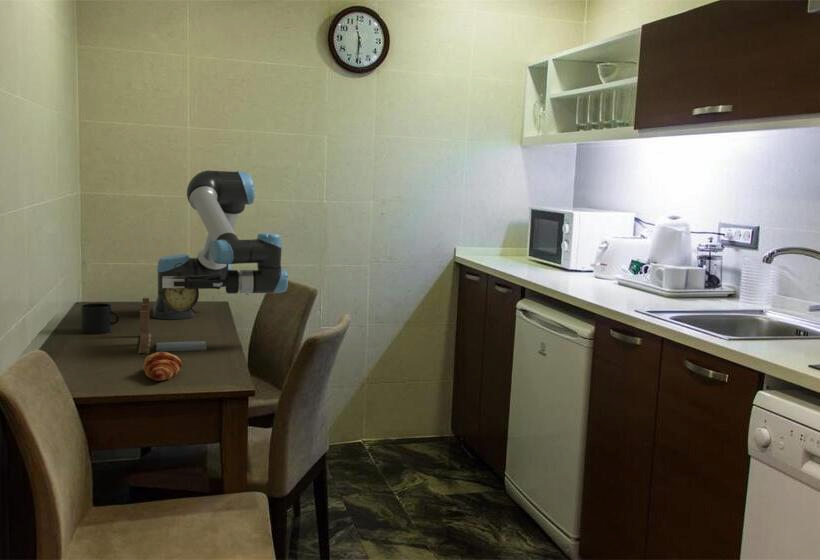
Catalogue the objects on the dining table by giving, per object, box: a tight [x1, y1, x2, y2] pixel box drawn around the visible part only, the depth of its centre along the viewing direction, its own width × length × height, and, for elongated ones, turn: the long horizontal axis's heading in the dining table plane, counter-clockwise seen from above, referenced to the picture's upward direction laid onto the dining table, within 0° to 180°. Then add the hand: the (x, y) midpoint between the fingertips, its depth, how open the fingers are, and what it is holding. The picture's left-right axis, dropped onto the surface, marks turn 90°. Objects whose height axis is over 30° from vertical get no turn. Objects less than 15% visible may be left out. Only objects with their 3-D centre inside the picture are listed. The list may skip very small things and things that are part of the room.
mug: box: [80, 302, 120, 335], centre depth 257 cm, size 9×12×9 cm
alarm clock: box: [161, 263, 200, 315], centre depth 237 cm, size 11×5×16 cm, turn 114°
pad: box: [155, 340, 208, 352], centre depth 239 cm, size 9×15×1 cm, turn 108°
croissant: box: [142, 351, 183, 382], centre depth 207 cm, size 21×10×8 cm, turn 15°
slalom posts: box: [138, 297, 152, 354], centre depth 241 cm, size 26×3×13 cm, turn 18°
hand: (162, 282), depth 235 cm, fingers closed on alarm clock, 5 cm apart
